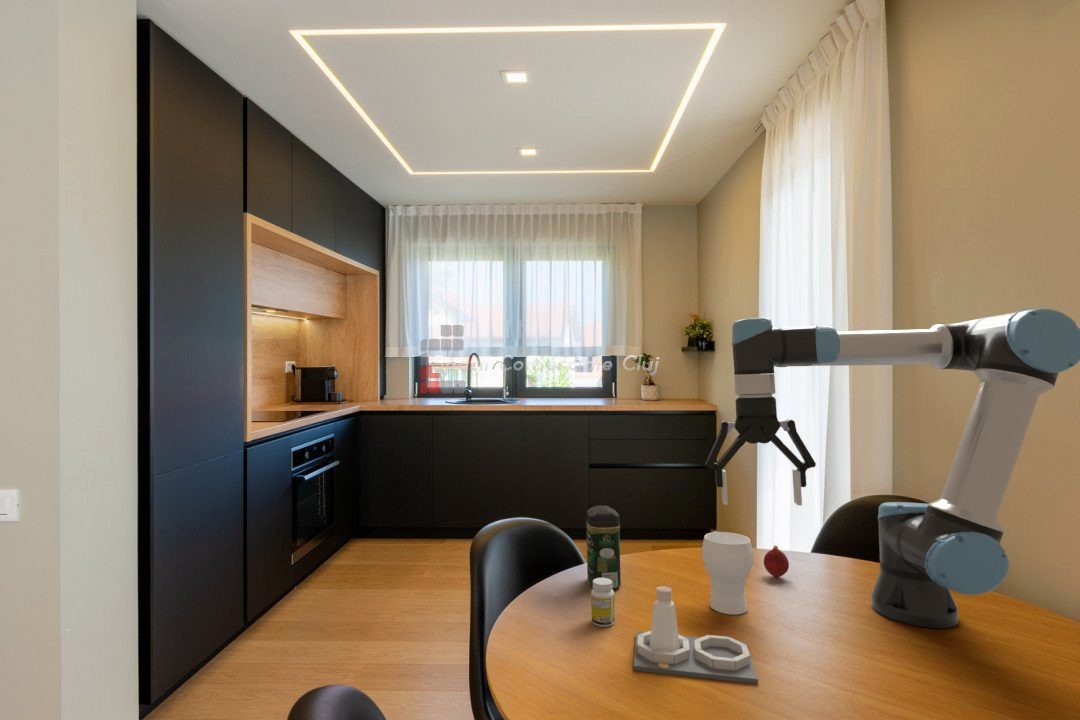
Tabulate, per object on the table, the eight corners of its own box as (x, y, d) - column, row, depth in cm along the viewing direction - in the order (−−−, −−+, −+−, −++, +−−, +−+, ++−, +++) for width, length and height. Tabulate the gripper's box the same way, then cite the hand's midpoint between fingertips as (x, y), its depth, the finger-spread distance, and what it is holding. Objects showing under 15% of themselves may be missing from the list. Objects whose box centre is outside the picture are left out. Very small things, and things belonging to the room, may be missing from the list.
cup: (758, 620, 111) (757, 546, 112) (705, 615, 114) (704, 543, 114) (749, 599, 122) (748, 532, 122) (700, 596, 124) (699, 530, 125)
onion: (793, 582, 132) (792, 549, 133) (769, 582, 132) (769, 549, 133) (783, 574, 138) (782, 542, 138) (760, 574, 138) (759, 542, 138)
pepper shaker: (652, 641, 101) (651, 581, 101) (682, 646, 99) (681, 585, 99) (647, 654, 96) (646, 591, 96) (678, 660, 94) (677, 595, 94)
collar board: (745, 646, 100) (745, 633, 100) (758, 684, 88) (757, 669, 88) (636, 635, 105) (636, 623, 105) (633, 670, 92) (633, 656, 92)
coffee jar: (585, 577, 136) (584, 503, 137) (616, 577, 136) (615, 503, 137) (590, 592, 127) (589, 512, 127) (623, 591, 127) (622, 512, 128)
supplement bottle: (601, 615, 114) (601, 575, 114) (619, 622, 111) (618, 580, 111) (586, 622, 111) (586, 581, 111) (604, 630, 107) (604, 587, 108)
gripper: (816, 393, 109) (823, 499, 108) (689, 397, 114) (694, 499, 113) (829, 394, 101) (836, 508, 100) (692, 398, 106) (697, 507, 105)
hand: (761, 503), depth 107 cm, fingers open, 13 cm apart
